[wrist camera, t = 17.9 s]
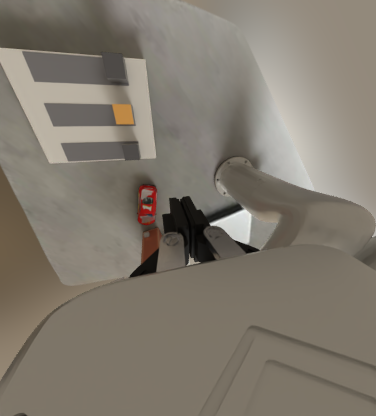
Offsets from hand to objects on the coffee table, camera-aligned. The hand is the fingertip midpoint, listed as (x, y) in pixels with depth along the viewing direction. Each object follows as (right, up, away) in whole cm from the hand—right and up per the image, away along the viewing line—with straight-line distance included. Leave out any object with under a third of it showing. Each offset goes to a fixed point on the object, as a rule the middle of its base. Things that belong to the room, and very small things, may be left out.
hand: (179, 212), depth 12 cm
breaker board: (-18, +20, +18) cm, 32 cm away
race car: (-12, +2, +31) cm, 33 cm away
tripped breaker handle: (-12, +19, +16) cm, 28 cm away
